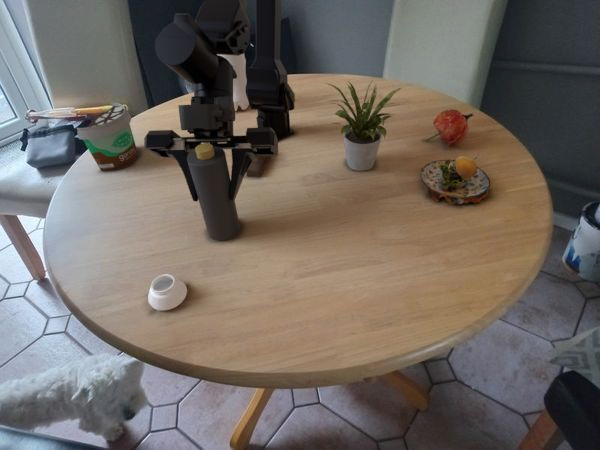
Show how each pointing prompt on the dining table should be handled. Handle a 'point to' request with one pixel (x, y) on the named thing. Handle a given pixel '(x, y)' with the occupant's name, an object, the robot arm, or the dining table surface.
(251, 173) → the walnut stick
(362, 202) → the dining table surface
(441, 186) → the multicoloured piece
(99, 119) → the food container
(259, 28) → the robot arm
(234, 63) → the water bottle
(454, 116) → the pomegranate
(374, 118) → the house plant
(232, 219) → the grey bottle yellow cap
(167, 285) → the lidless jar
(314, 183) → the dining table surface
